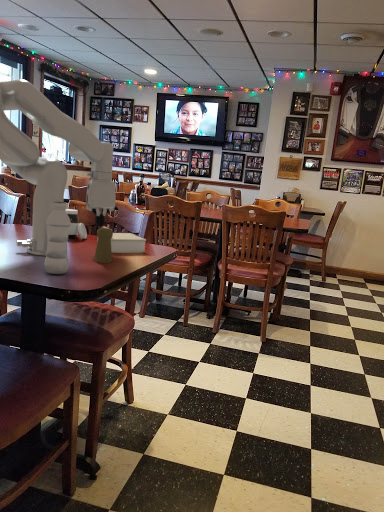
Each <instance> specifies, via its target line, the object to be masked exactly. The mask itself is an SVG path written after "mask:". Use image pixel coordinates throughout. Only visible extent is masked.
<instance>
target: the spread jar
mask: <svg viewBox="0 0 384 512" xmlns="http://www.w3.org/2000/svg"><path fill="white" fill-rule="evenodd" d="M65 212H66V213H67V215H68V216H69V218H70V222H71V223H70V229H69V234H68V239H76V238H78V235H79V238H80V239H82V240H84V239H87V236H88V235H87V234H88V233H87V229H86V226H85V224H84V223H83V222H80V223H79V221H80V220H79V216H78V215H79V214H78V212H79V211H78V209H72V208H66V210H65Z"/></svg>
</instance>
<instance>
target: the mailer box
mask: <svg viewBox="0 0 384 512" xmlns="http://www.w3.org/2000/svg"><path fill="white" fill-rule="evenodd" d="M96 242H98V238H97V241H96ZM145 248H146V241H111V251H112V254H137V253H138V254H139V253H141V254H144V253H145Z"/></svg>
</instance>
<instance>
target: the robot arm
mask: <svg viewBox="0 0 384 512" xmlns="http://www.w3.org/2000/svg"><path fill="white" fill-rule="evenodd" d="M16 110H17V111H18V110H19V111H20V113H22V114H23V115H25V116H26V117H27V118H28V119H29V120H31V121H32V122H33V124H34V125H36V126H37V127H39V129H40V130H42V131H43V132H44V133H47V134H48V135H50V136H53V137H55V138H58V139H61V140H64V141H66V142H67V143H69V144H68V148H67V149H68V154H69V155H70V157H71V158H73V159H74V160H76V161H80V162H90V163H91V165H90V166H91V169H90V172H87V174H86V175H87V176H86V177H89V180H88V183H87V188H86V189H87V190H86V196H85V204H86V205H85V210H87V211H90V212H92V213H93V214H94V216H95V217H94V218H95V219H94V223H95V226H96V227H101V228H102V227H103V226H104V224H105V217H106V216H107V214H108V213H109V212H113V211H115V207H116V198H117V197H116V185H115V181H113V161H114V160H113V159H114V146H113V144H112V143H110V142H107V141H101V140H100V139H99V138H98V137H97V136H96V135H95V134H94V133H93V132H92V131H91V130H90V129H89V128H87V127H86V126H85V125H83V124H81V123H80V122H79V121H77V120H75V119H74V118H73V117H71V116H69V115H67V114H66V113H65V112H63V111H61V109H59V107H57V106H56V105H55V104H54V103H53V102H52V101H51V100H50V99H49V98H48V97H47V96H46V95H44V93H42V92H41V91H40V90H39V89H38V88H37V87H36V86H35V85H34V84H33V83H31V82H30V81H28V80H26V79H21V78H20V79H15V80H14V79H13V80H8V81H6V80H5V81H0V161H1V162H2V163H3V164H5V166H7V167H8V168H10V169H11V170H12V171H13V172H14V173H16V174H17V175H19V177H21V178H22V179H24V180H25V181H26V182H28V183H30V184H32V185H35V186H36V187H35V190H34V192H33V193H34V194H33V199H32V201H33V202H32V223H31V224H32V228H31V229H32V231H31V232H32V233H31V237H29V239H26V240H16V247H22V248H26V252H27V253H28V254H30V255H36V256H45V257H46V254H47V246H48V234H47V224H46V220H47V217H48V216H49V214H50V213H51V212H52V211H53V208H52V202H53V201H58V202H65V201H64V198H65V192H66V191H65V190H66V187H67V182H68V171H67V168H66V166H65V164H64V163H63V162H61V161H60V160H59V159H57V158H54V157H45V156H44V157H43V156H42V157H41V152H40V151H41V150H40V148H39V146H38V144H37V143H36V142H35V141H34V140H33V139H32V138H31V137H29V136H28V135H27V134H26V133H25V132H24V131H22V130H21V129H20V128H19V127H17V126H16V125H15V123H14V122H12V121H11V120H10V119H9V118H8V116H7V115H6V113H5V111H16Z"/></svg>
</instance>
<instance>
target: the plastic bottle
mask: <svg viewBox="0 0 384 512" xmlns="http://www.w3.org/2000/svg"><path fill="white" fill-rule="evenodd" d="M52 208H53V211H52V212H51V213H50V214H49V216H48V217H47V220H46V224H47V234H48V246H47V254H46V256H45V259H44V265H43V266H44V270H45V272H46V273H48V274H52V275H62V274H66V273H67V271H68V269H69V263H70V262H69V256H68V240H69V238H68V234H69V229H70V223H71V222H70V218H69V216H68V215H67V213H66V212H65V210H66V209H67V202H65V201H63V202H58V201H53V202H52Z"/></svg>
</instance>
